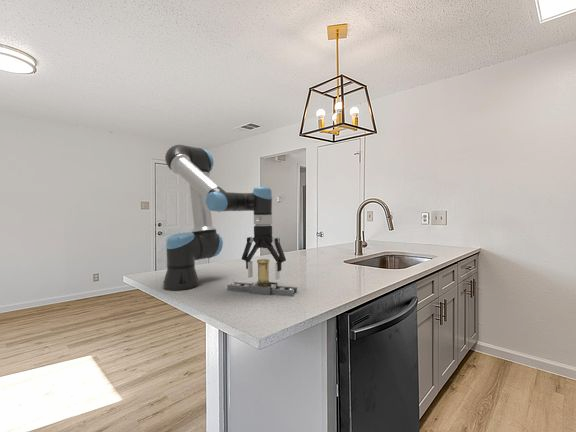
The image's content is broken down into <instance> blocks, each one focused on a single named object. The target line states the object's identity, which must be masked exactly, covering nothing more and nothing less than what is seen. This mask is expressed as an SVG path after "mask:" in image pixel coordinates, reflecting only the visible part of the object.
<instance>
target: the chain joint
mask: <svg viewBox="0 0 576 432" xmlns="http://www.w3.org/2000/svg"><path fill="white" fill-rule="evenodd" d="M278 284H279V283H278V281H277V282H275V281H269V287H268V286H258V280H257V281H256V282H252V283H249V282H238V281H237V282H236V281H233V282H232V283H230V284H227V285H226V287H227V289H226V290H227V291H232V292H233V291H235V292H243V293H244V292H245V293H249V294H255V295H264V296H265V295H267V296H271V295H276V296H287V297H293V296H294V295H295V294H297V293H298V287H297V286H285V285H278Z"/></svg>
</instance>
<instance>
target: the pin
mask: <svg viewBox="0 0 576 432" xmlns="http://www.w3.org/2000/svg"><path fill="white" fill-rule="evenodd" d="M256 263H257V281H258V286H268V287H269V282H270V279H269V278H270V271H269V270H270V269H269V268H270V265H269V263H270V259H269V258H259V259H257V260H256Z"/></svg>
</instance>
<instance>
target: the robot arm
mask: <svg viewBox="0 0 576 432" xmlns="http://www.w3.org/2000/svg"><path fill="white" fill-rule="evenodd" d="M164 158H165V161H164V162H165V163H166V164H165V165H166V166H167V168H168V169H169V170H171V171H172V172H173V173H174V174H177V175H179V176H181V178H183V179H184V180H185V182H187V183H188V184H189V193H190V202H191V210H192V218H193V229H192V230H191V231H190V232H182V233H181V232H180V233H179V232H178V233H175V234H172V235H170V236H168V237H167V238H166V267H167V268H166V273H165V276H164V278H163V279H164V281H162V287H163V289H164V290H167V291H183V290H184V291H185V290H190V289H194V288H196V287H198V286H199V285H200V279H199V277H198V272H197V270H196V266H195V265H196V264H195V263H196V262H195V261H198V260H204V259H211V258H214V257H218V255H220V254H221V252H222V249H223V244H224V243H223V242H224V241H223V238H222V236H221V235H220V234H219V233H217V228H215V226H213V220H212V218H213V217H212V212H219V213H220V212H247V211H248V212H249V211H250V212H251V211H252V212H253V225H254V226H253V236H249V237H246V244H245V247H244V250H243V253H242V255H241V256H242V257H241V260H242V261H245V268H246V270H247V278H248V279H250V278H252V277H253V276H254V275H253V273H254V272H253V260H252V259H253V257H254V256H255V254H256V252H257V250H258V249H262V248H263V249H267V250H268V251H269V252H270V254H271V255H272V257H273V259H274V260H275V263H274V269H275V270H274V273H275V274H274V275H275V277H274V281H277V280H280V272H281V271H282V263H284V262H286V261H287V259H286V256H285V253H284V251H283V248H282V246H281V245H282V244H281V239H280V237H275V238H274V237H273V226H272V224H273V194H272V189H271V188H270V187H265V186H264V187H263V186H261V187H260V186H259V187H253V191H252V192H227V191H225V190H224V189H223V188H221V186H220V185H218V184H217V182H215V181H214V180H213V179H211V178H210V177H209V176H210V175H211V173H210V172H211V171H212V170H213V167H214V157H213V155H212V154H211V152H210V151H208V150H207V149H205V148H201V147H195V146H189V145H184V144H175V145H173V146H171V147H170V148H169V149H167V151H166V153H165V156H164ZM253 242H254V245H253ZM272 243H274V245H275V247H274V245H273V244H272ZM252 245H253V247H252ZM251 247H252V249H251ZM275 248H276V249H275Z"/></svg>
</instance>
